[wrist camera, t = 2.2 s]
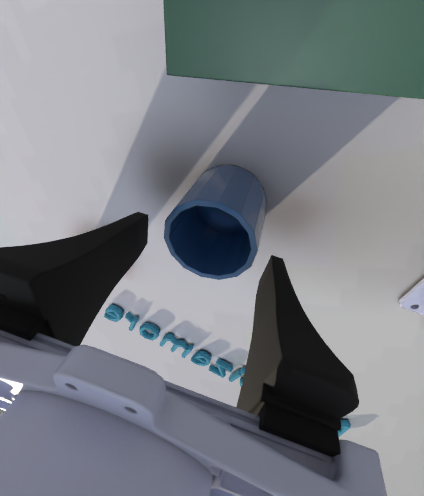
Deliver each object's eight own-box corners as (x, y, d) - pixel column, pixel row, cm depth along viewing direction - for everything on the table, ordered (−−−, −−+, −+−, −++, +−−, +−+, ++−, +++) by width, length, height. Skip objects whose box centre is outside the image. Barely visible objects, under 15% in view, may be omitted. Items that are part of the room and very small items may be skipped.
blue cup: (277, 177, 16) (271, 218, 12) (252, 241, 20) (241, 290, 16) (200, 154, 17) (167, 185, 13) (189, 221, 20) (161, 263, 16)
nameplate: (333, 432, 36) (360, 425, 33) (334, 438, 35) (362, 432, 32) (105, 315, 33) (111, 296, 30) (102, 320, 33) (107, 301, 29)
